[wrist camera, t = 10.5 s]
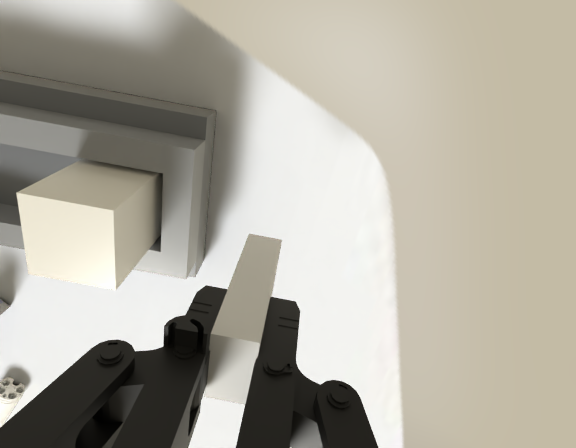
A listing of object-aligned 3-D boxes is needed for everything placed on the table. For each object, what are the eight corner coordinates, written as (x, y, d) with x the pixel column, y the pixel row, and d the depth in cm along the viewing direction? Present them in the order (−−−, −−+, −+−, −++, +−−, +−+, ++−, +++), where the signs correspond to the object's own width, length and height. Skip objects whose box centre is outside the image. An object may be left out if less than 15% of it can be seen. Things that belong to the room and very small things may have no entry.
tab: (96, 218, 23) (28, 274, 18) (93, 153, 21) (16, 192, 16) (163, 230, 23) (115, 290, 18) (165, 166, 21) (113, 210, 16)
